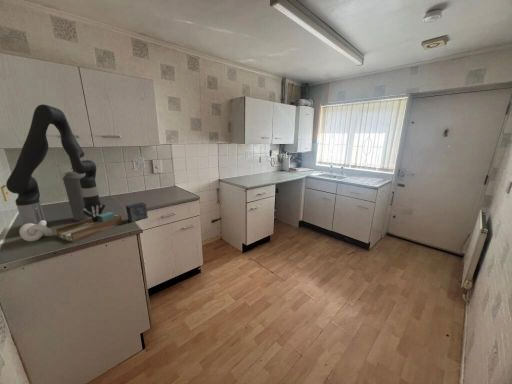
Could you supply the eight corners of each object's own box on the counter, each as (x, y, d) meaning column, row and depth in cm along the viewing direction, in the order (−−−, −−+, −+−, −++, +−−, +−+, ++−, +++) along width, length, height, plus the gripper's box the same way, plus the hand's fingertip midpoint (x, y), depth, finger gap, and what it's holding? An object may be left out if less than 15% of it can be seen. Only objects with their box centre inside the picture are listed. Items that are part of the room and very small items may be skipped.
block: (98, 221, 129) (97, 215, 128) (110, 217, 135) (109, 211, 134) (103, 222, 127) (102, 216, 126) (115, 219, 133) (113, 213, 132)
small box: (144, 215, 147) (142, 201, 144) (148, 218, 143) (146, 203, 140) (127, 220, 139) (125, 205, 136) (131, 222, 135) (129, 207, 132)
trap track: (58, 237, 115) (56, 229, 114) (107, 219, 139) (106, 213, 138) (74, 242, 110) (71, 233, 109) (122, 223, 134) (121, 216, 133)
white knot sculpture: (60, 232, 120) (57, 218, 118) (40, 243, 109) (36, 227, 107) (40, 233, 120) (36, 218, 118) (18, 243, 109) (13, 227, 106)
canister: (68, 222, 134) (55, 169, 125) (78, 215, 146) (67, 166, 137) (91, 220, 138) (79, 168, 129) (99, 214, 149) (89, 166, 140)
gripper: (98, 191, 129) (103, 217, 133) (73, 196, 117) (80, 225, 121) (106, 192, 126) (111, 219, 131) (81, 198, 114) (88, 227, 119)
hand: (96, 221), depth 126 cm, fingers closed
